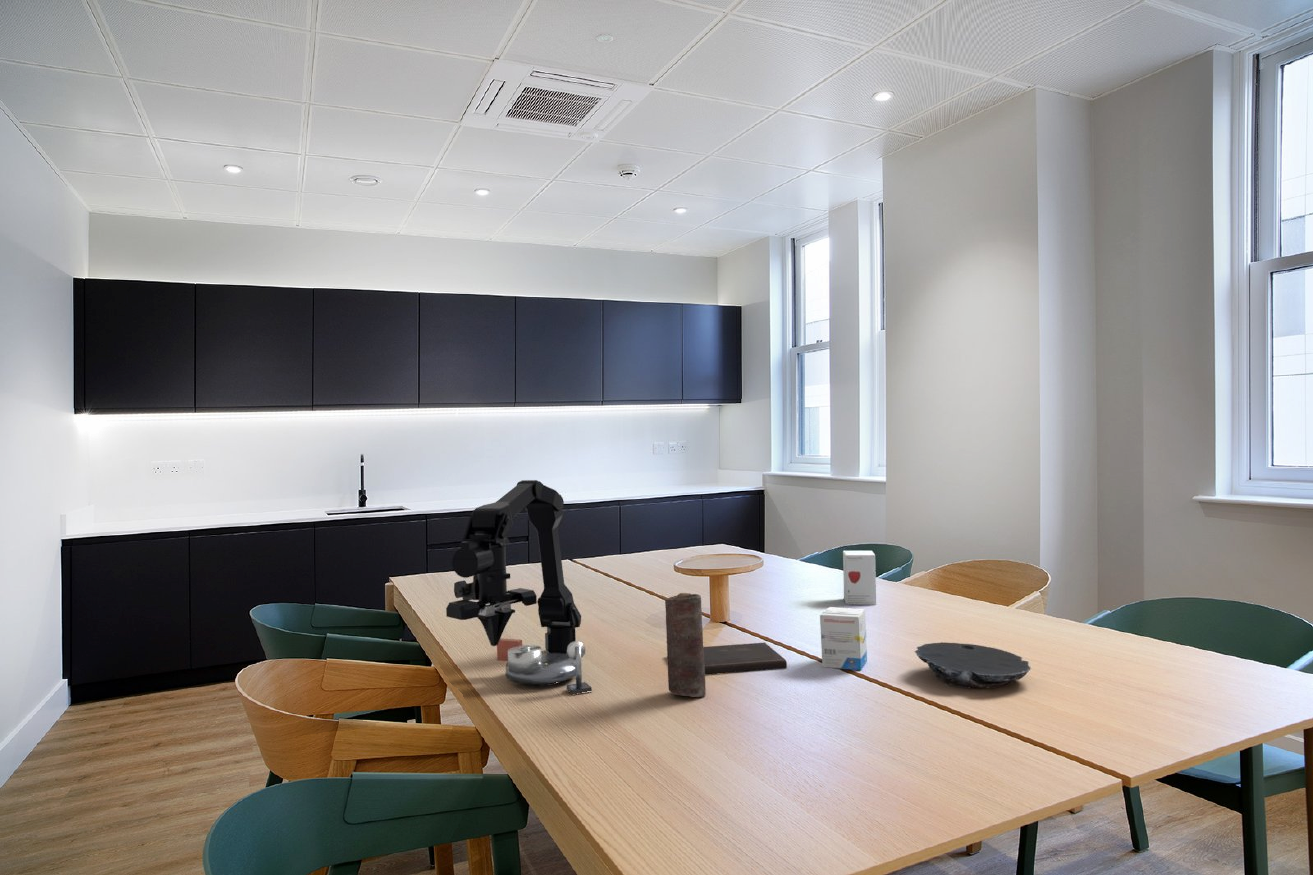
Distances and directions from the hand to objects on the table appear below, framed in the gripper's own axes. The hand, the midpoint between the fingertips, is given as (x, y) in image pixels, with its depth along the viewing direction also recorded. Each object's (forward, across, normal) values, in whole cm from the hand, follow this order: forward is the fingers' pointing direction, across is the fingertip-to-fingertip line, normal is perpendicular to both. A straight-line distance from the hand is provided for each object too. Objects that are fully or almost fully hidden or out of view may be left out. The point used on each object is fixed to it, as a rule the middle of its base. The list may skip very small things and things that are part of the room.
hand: (494, 645), depth 161 cm
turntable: (+9, -13, 0) cm, 15 cm away
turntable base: (+10, -13, 0) cm, 16 cm away
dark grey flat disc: (+10, -66, +72) cm, 98 cm away
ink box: (+10, -60, +46) cm, 76 cm away
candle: (+10, -22, +32) cm, 40 cm away
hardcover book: (+11, -46, +25) cm, 53 cm away
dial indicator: (+10, -12, +12) cm, 19 cm away
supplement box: (+10, -120, +19) cm, 122 cm away
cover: (+6, -8, 0) cm, 10 cm away
